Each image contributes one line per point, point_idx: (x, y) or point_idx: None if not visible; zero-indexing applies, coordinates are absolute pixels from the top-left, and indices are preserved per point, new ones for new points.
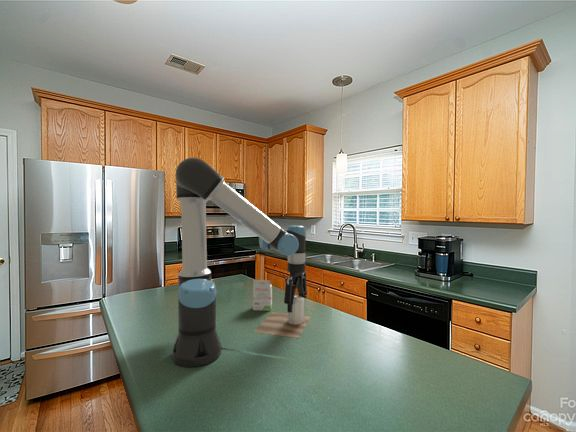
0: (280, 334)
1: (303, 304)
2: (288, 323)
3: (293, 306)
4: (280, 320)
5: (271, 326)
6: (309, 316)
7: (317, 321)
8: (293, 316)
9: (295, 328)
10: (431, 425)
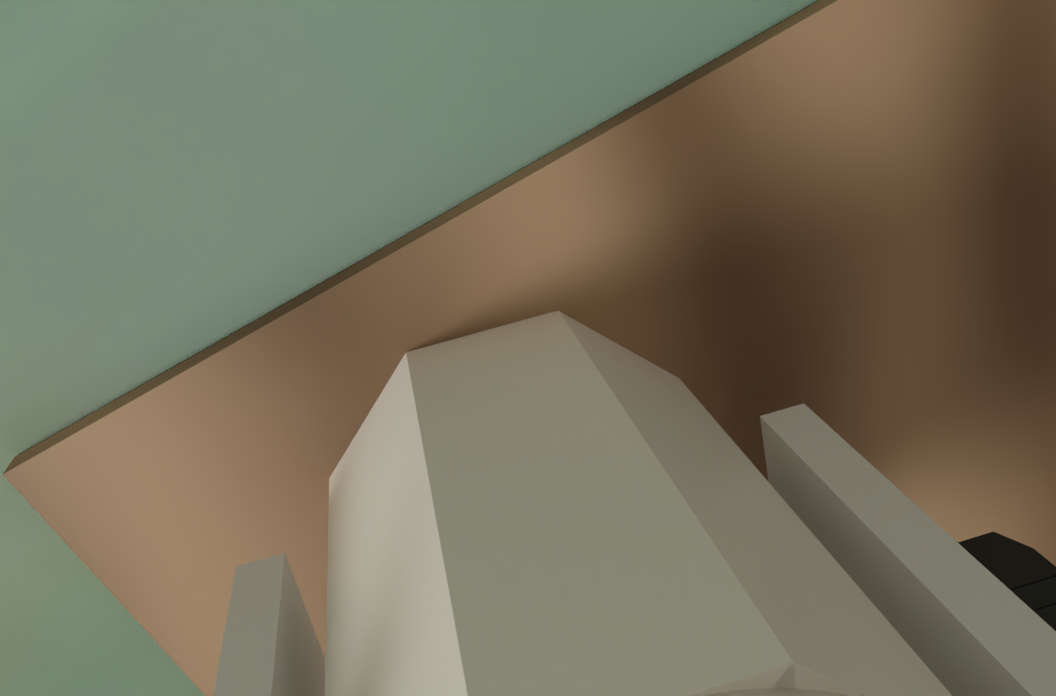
0: None
1: (522, 618)
2: None
3: (1034, 631)
4: None
5: None
6: (39, 495)
7: (32, 188)
8: (840, 451)
9: (842, 212)
10: None
